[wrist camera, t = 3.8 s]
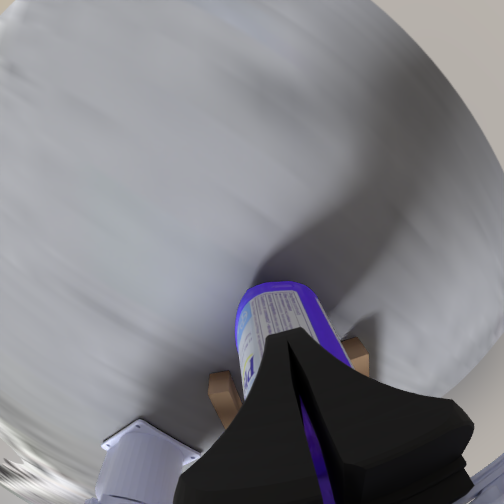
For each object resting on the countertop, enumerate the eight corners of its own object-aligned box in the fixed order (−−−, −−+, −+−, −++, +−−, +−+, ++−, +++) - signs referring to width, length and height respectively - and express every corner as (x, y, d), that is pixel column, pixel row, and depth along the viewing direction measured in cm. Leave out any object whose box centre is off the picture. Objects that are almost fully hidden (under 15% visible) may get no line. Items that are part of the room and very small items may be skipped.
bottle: (231, 272, 18) (271, 604, 2) (319, 267, 19) (464, 533, 3) (235, 355, 21) (262, 587, 5) (307, 349, 22) (380, 560, 6)
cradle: (209, 373, 21) (207, 394, 19) (357, 336, 21) (368, 353, 19) (261, 478, 27) (262, 493, 24) (358, 453, 27) (363, 468, 24)
